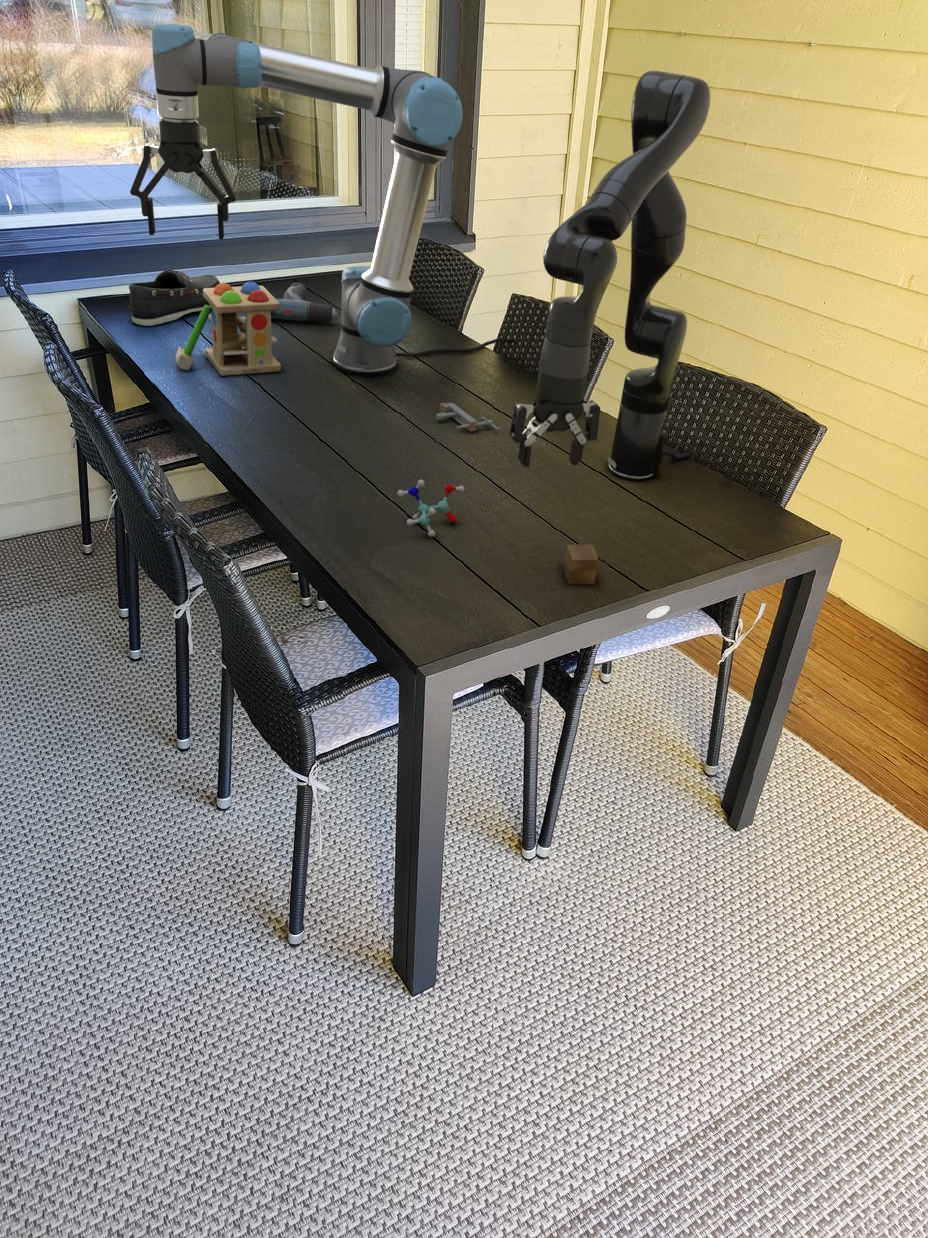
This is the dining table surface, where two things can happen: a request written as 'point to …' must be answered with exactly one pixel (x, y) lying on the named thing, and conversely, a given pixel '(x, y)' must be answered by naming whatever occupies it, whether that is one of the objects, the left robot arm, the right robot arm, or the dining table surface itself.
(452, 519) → the molecular model
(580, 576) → the block
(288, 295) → the power drill
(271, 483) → the dining table surface
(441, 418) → the clamp
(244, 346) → the pounding bench toy
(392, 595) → the dining table surface
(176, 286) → the boat shoe
